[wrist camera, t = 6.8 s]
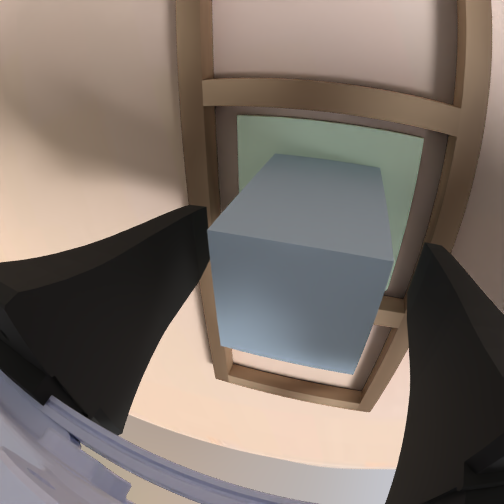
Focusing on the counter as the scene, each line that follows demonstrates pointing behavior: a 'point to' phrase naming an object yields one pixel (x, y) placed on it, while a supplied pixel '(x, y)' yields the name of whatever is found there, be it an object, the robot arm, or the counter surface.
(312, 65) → the counter surface
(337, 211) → the block
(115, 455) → the robot arm
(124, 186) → the counter surface
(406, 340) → the rack
